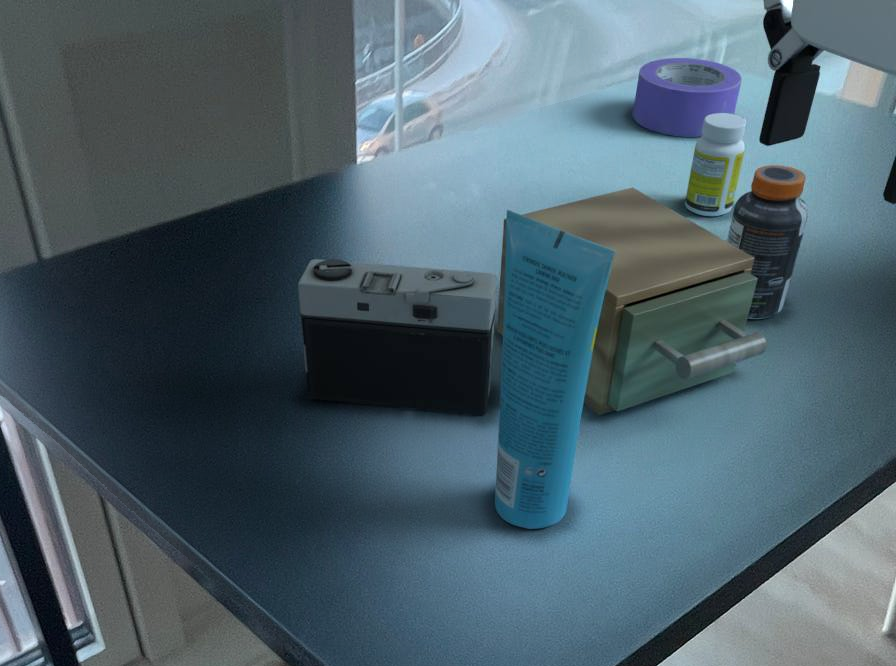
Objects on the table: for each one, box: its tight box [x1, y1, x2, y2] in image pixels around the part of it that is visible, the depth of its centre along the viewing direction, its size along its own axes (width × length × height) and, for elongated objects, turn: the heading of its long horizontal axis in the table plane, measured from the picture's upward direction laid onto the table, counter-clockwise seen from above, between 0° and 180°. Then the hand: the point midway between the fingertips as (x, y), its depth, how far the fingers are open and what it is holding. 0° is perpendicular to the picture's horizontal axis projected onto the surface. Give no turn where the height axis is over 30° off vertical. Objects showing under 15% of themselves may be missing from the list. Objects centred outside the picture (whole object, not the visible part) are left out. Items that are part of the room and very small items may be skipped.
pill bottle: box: [726, 164, 809, 320], centre depth 85 cm, size 6×6×11 cm
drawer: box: [608, 272, 768, 412], centre depth 77 cm, size 18×11×8 cm, turn 29°
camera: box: [297, 258, 498, 416], centre depth 76 cm, size 14×8×10 cm, turn 80°
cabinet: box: [496, 187, 754, 416], centre depth 80 cm, size 15×13×10 cm
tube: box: [494, 209, 616, 530], centre depth 62 cm, size 7×5×19 cm, turn 52°
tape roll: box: [632, 57, 743, 138], centre depth 119 cm, size 12×12×5 cm
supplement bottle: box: [684, 113, 747, 217], centre depth 100 cm, size 5×5×8 cm
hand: (839, 167), depth 59 cm, fingers open, 9 cm apart
